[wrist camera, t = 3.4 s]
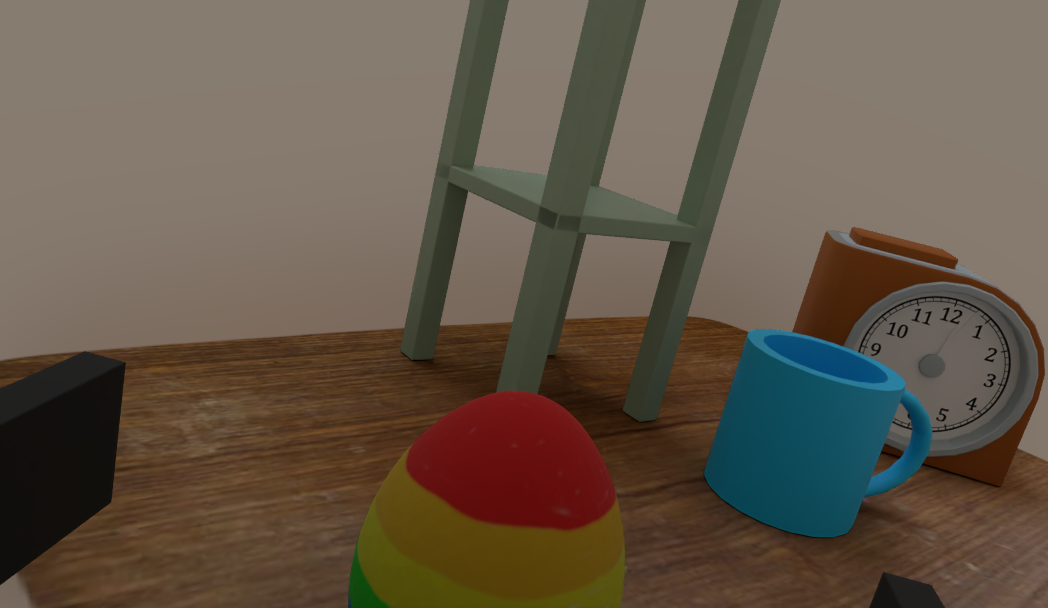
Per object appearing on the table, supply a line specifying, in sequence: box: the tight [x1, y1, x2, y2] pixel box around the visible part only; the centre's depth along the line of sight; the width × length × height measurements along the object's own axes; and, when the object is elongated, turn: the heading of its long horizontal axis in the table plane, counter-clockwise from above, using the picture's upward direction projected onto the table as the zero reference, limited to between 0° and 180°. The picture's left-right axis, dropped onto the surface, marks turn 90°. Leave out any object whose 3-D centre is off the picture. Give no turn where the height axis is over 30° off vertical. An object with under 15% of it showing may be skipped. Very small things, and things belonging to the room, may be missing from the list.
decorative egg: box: [348, 391, 625, 608], centre depth 25 cm, size 8×8×10 cm
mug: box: [704, 329, 933, 537], centre depth 45 cm, size 12×8×8 cm
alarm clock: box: [792, 227, 1045, 487], centre depth 58 cm, size 15×8×14 cm, turn 76°
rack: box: [400, 0, 781, 422], centre depth 48 cm, size 12×12×36 cm
